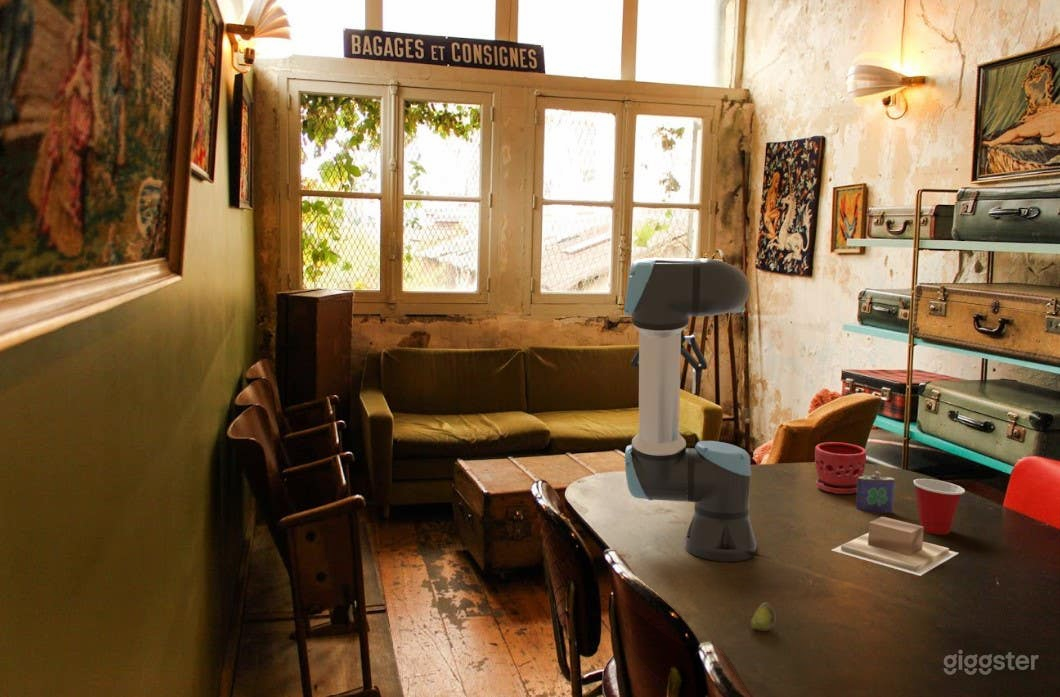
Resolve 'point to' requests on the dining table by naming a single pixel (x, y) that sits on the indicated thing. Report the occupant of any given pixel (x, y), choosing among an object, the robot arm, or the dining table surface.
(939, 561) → the mat
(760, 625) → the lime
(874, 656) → the dining table surface
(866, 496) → the flask
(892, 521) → the lid
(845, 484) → the plant pot
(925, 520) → the plastic cup
